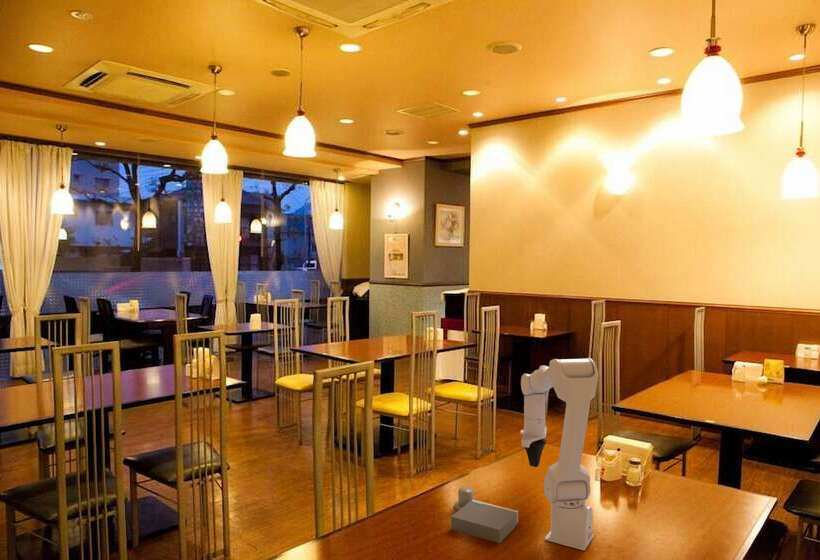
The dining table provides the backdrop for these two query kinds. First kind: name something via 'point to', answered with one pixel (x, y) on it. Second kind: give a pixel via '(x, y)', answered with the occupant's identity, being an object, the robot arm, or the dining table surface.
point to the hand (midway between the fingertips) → (534, 465)
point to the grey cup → (464, 497)
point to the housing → (484, 521)
